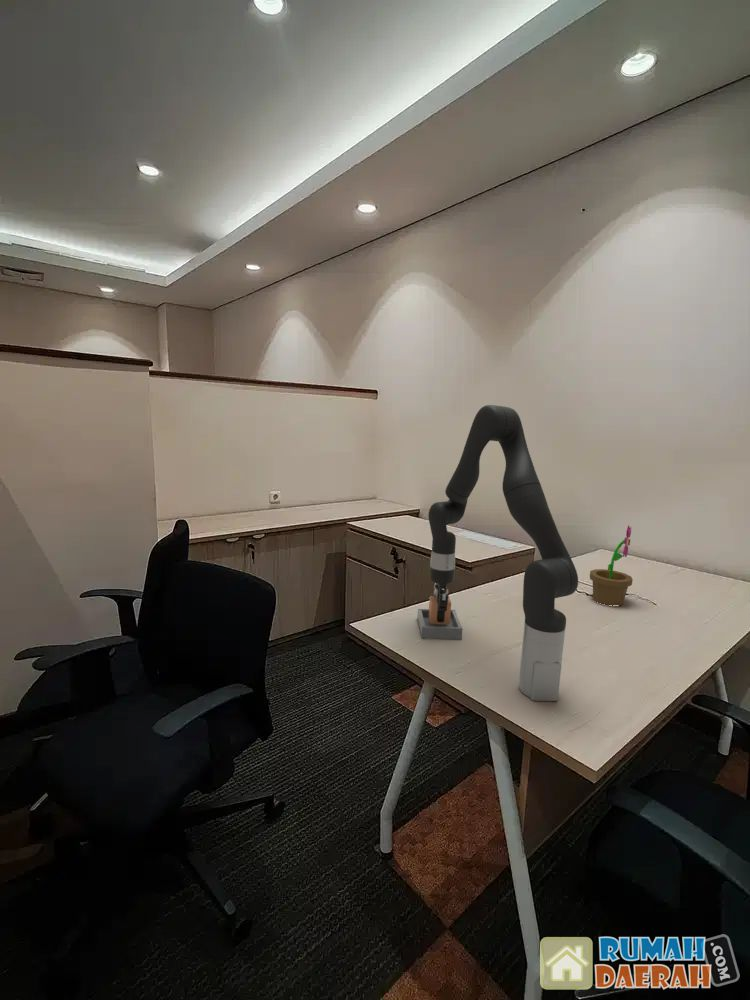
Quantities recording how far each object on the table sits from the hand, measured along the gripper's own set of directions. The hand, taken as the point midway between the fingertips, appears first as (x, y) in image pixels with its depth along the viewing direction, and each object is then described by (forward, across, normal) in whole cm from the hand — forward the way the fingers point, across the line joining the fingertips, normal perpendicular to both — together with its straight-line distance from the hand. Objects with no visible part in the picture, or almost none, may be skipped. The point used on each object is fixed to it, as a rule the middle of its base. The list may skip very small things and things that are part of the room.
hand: (439, 617), depth 147 cm
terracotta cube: (+1, 0, 0) cm, 1 cm away
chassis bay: (+4, 0, 0) cm, 4 cm away
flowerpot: (+4, +28, -67) cm, 73 cm away
